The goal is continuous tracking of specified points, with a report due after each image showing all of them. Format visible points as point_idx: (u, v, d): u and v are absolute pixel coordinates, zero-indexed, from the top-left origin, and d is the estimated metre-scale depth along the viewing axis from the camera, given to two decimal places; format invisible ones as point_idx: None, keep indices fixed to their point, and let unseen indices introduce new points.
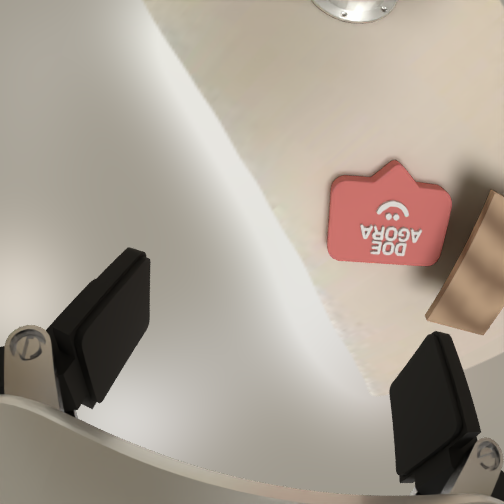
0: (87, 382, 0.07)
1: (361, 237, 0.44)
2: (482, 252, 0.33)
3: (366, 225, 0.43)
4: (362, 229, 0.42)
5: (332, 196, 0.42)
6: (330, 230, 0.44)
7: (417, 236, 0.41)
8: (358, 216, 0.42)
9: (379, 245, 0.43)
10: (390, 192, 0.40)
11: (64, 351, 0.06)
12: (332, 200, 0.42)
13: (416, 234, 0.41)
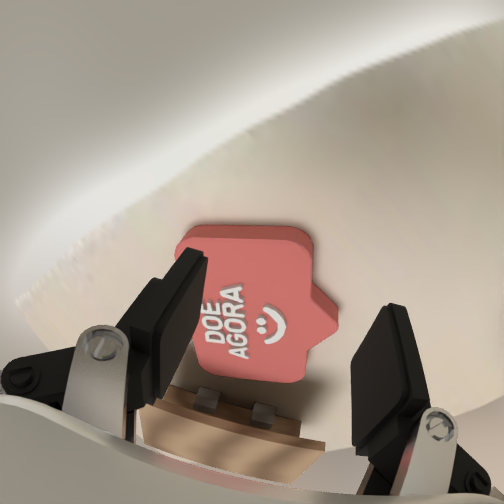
0: (155, 379, 0.08)
1: (220, 285, 0.29)
2: (247, 446, 0.29)
3: (241, 291, 0.29)
4: (234, 289, 0.28)
5: (283, 241, 0.26)
6: (223, 240, 0.27)
7: (238, 354, 0.32)
8: (254, 280, 0.28)
9: (214, 312, 0.30)
10: (296, 319, 0.29)
11: (138, 349, 0.07)
12: (276, 241, 0.26)
13: (241, 353, 0.32)
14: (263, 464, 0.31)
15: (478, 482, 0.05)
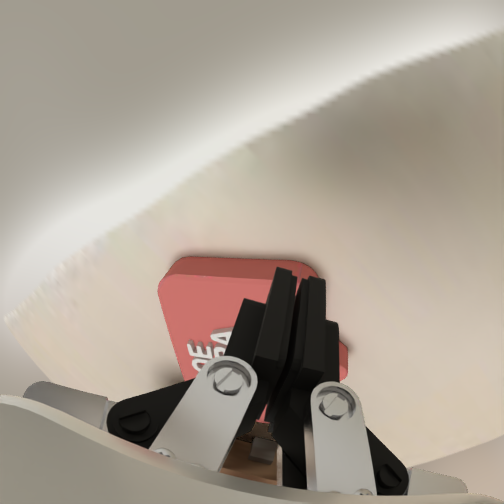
0: None
1: (211, 328, 0.24)
2: None
3: None
4: (227, 333, 0.24)
5: None
6: (212, 279, 0.22)
7: None
8: None
9: (205, 355, 0.25)
10: None
11: (257, 377, 0.07)
12: None
13: None
14: None
15: (387, 476, 0.05)
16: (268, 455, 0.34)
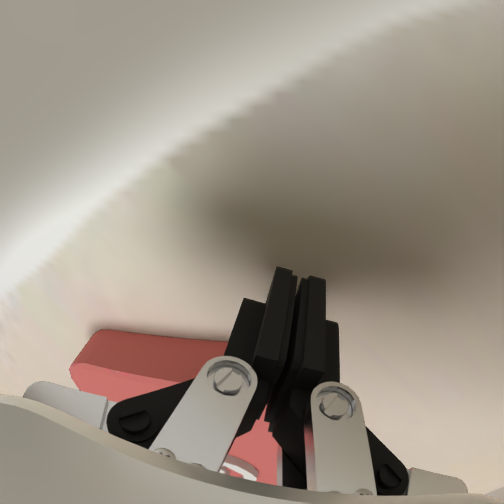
0: None
1: None
2: None
3: None
4: None
5: None
6: (128, 377, 0.13)
7: None
8: None
9: None
10: (273, 470, 0.15)
11: (257, 377, 0.07)
12: None
13: None
14: None
15: (387, 476, 0.05)
16: None
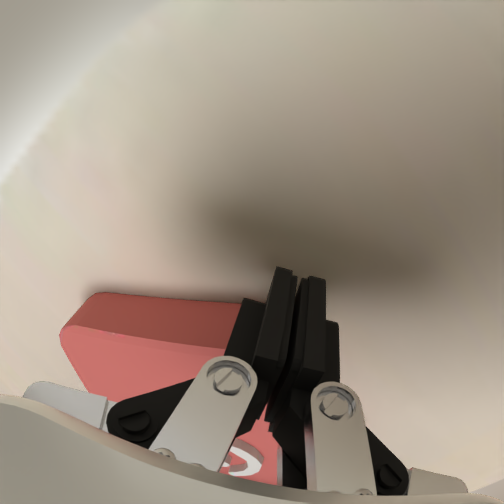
0: None
1: None
2: None
3: None
4: None
5: None
6: (124, 339, 0.12)
7: None
8: None
9: None
10: None
11: (256, 376, 0.07)
12: None
13: None
14: None
15: (388, 476, 0.05)
16: None
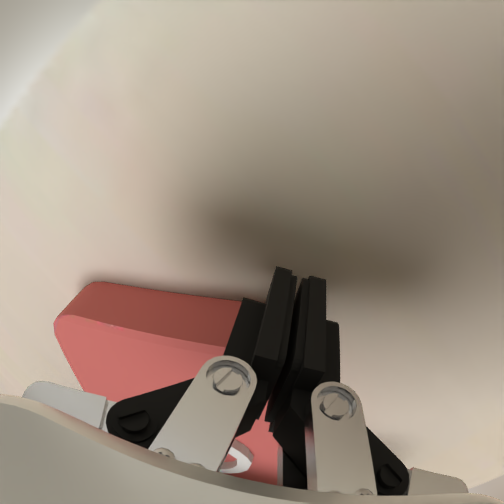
0: None
1: (134, 395, 0.14)
2: None
3: None
4: None
5: None
6: (123, 332, 0.12)
7: None
8: None
9: None
10: (271, 454, 0.14)
11: (256, 376, 0.07)
12: None
13: None
14: None
15: (388, 476, 0.05)
16: None
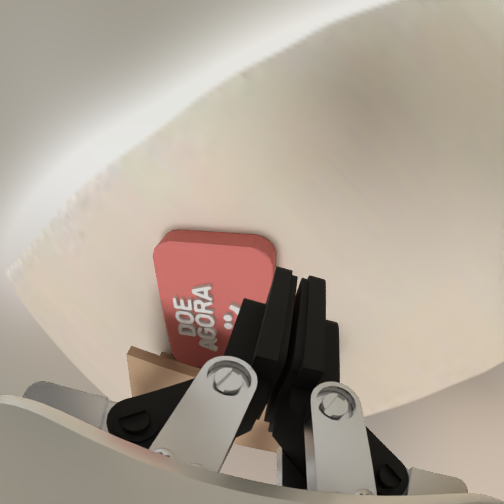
0: None
1: (192, 284, 0.32)
2: None
3: (210, 290, 0.32)
4: (204, 288, 0.32)
5: (248, 248, 0.29)
6: (195, 245, 0.30)
7: (207, 347, 0.36)
8: (222, 281, 0.31)
9: (186, 307, 0.33)
10: None
11: (257, 377, 0.07)
12: (241, 248, 0.29)
13: (210, 345, 0.35)
14: (261, 429, 0.31)
15: (387, 476, 0.05)
16: None
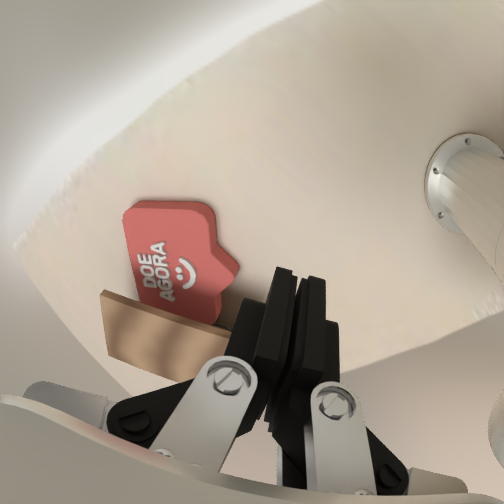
0: None
1: (151, 242, 0.40)
2: (188, 340, 0.37)
3: (164, 247, 0.40)
4: (159, 244, 0.40)
5: (188, 210, 0.37)
6: (151, 210, 0.38)
7: (166, 297, 0.44)
8: (172, 238, 0.39)
9: (147, 262, 0.41)
10: (203, 269, 0.41)
11: (257, 377, 0.07)
12: (184, 211, 0.37)
13: (168, 296, 0.44)
14: None
15: (387, 476, 0.05)
16: None
